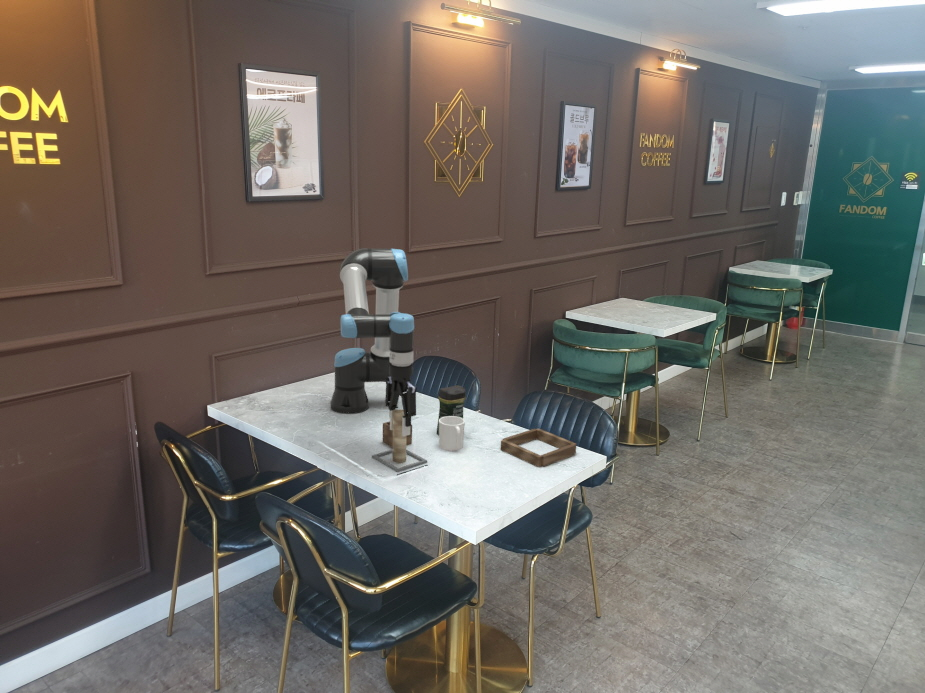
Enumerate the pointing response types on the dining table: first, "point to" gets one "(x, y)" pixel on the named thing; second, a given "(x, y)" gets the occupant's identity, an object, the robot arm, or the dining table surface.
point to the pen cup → (389, 435)
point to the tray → (421, 461)
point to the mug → (451, 433)
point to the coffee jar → (451, 402)
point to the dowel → (398, 438)
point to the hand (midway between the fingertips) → (399, 431)
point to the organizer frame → (535, 459)
